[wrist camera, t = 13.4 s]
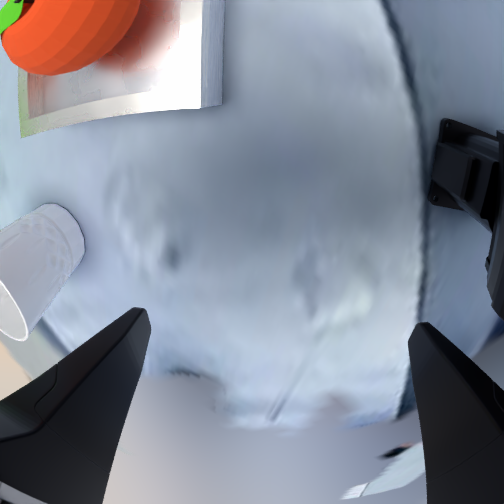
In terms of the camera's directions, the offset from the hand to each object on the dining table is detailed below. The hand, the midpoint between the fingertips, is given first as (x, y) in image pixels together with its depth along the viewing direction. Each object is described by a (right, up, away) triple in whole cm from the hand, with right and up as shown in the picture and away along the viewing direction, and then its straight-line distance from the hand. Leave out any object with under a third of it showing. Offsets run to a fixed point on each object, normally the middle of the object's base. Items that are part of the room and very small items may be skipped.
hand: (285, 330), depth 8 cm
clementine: (-9, +15, +1) cm, 18 cm away
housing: (-9, +17, +5) cm, 20 cm away
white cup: (-19, +4, +14) cm, 24 cm away
